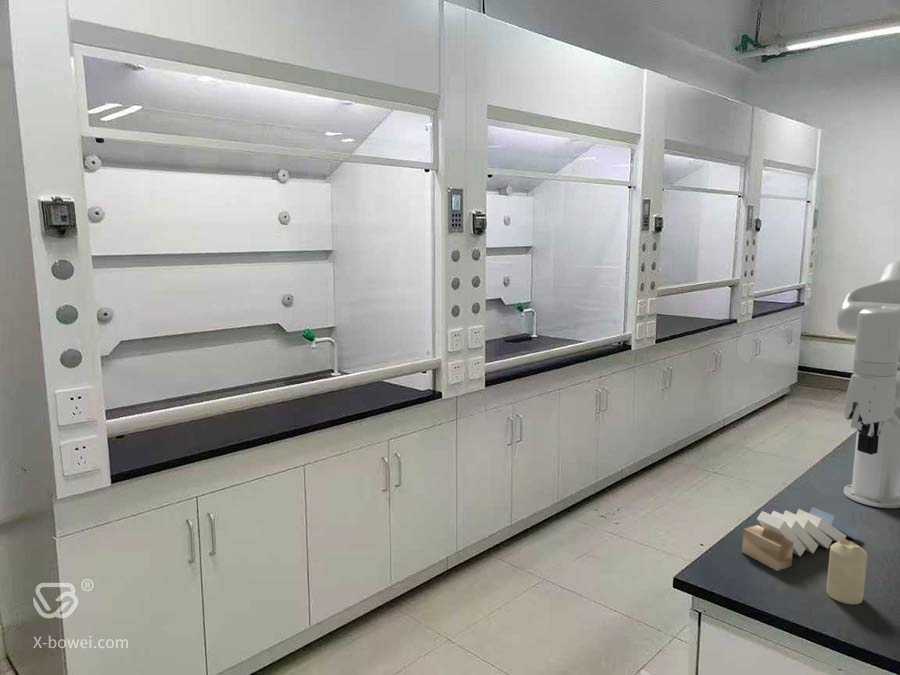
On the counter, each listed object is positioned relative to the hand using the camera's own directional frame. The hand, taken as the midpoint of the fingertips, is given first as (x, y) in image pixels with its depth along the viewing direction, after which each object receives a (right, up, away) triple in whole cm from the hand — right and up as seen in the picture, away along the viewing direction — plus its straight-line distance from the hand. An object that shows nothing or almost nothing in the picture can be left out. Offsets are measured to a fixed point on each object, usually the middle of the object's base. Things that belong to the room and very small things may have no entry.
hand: (867, 451), depth 134 cm
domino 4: (-8, -17, -2) cm, 19 cm away
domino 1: (-20, -18, -7) cm, 28 cm away
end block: (-26, -19, -10) cm, 34 cm away
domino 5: (-4, -17, 0) cm, 17 cm away
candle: (-19, -22, -23) cm, 37 cm away
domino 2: (-16, -18, -5) cm, 25 cm away
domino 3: (-12, -17, -4) cm, 22 cm away
